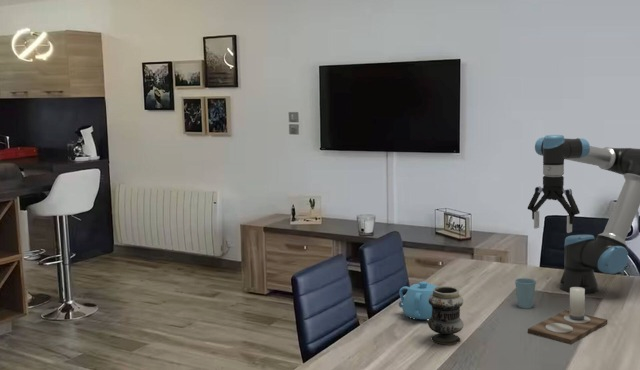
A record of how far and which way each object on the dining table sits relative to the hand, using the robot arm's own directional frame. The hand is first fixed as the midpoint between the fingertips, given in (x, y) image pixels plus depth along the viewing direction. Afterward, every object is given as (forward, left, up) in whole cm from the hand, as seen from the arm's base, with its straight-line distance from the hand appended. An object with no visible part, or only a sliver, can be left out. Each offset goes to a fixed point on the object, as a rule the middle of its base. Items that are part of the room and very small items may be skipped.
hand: (552, 230), depth 255 cm
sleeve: (+12, +16, -29) cm, 35 cm away
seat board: (+18, +16, -31) cm, 39 cm away
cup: (+6, -8, -31) cm, 32 cm away
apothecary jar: (+56, -9, -31) cm, 65 cm away
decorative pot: (+42, -30, -31) cm, 60 cm away
